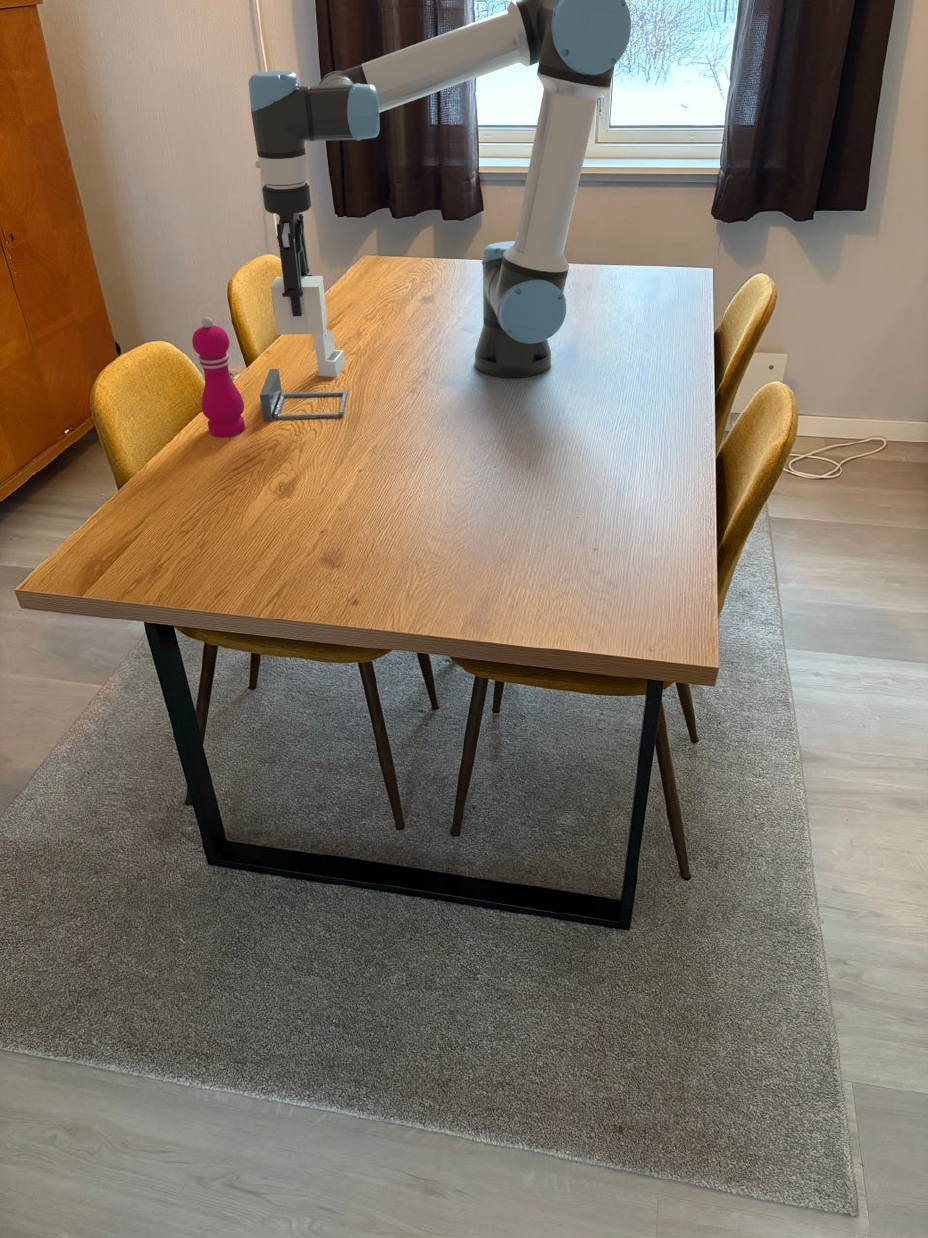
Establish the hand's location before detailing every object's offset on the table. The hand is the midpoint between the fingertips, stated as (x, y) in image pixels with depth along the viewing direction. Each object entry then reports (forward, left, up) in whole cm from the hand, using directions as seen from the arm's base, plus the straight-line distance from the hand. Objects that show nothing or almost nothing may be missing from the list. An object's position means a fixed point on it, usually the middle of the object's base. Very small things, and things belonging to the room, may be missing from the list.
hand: (302, 326), depth 164 cm
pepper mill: (+14, +9, -15) cm, 23 cm away
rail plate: (0, 0, -15) cm, 15 cm away
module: (0, 0, 0) cm, 0 cm away
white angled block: (-2, -17, -15) cm, 23 cm away
